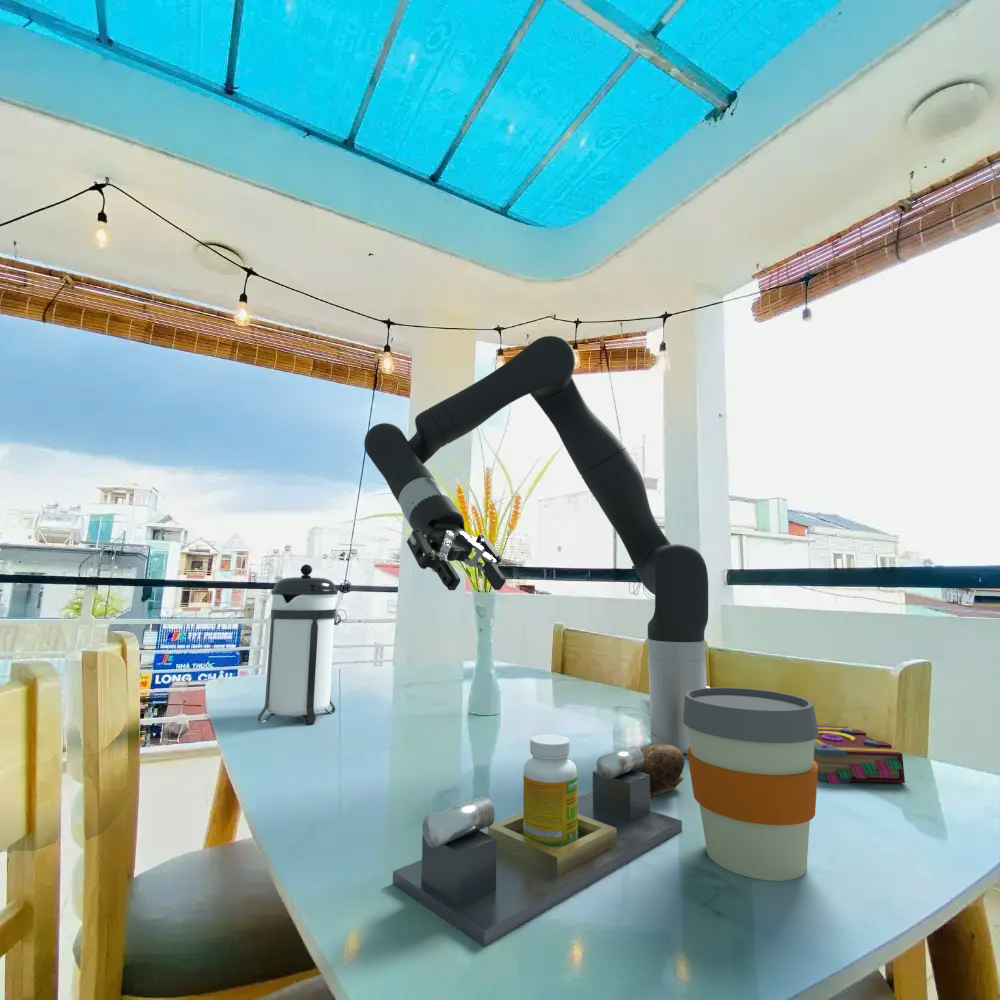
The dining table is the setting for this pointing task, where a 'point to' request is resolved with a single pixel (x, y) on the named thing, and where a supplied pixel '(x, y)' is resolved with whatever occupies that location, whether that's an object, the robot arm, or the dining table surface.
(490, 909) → the shaft bench
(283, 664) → the coffee press
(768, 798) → the reusable coffee cup
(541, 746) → the supplement bottle
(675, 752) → the brown rough round lump
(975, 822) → the dining table surface
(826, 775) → the decorative book
